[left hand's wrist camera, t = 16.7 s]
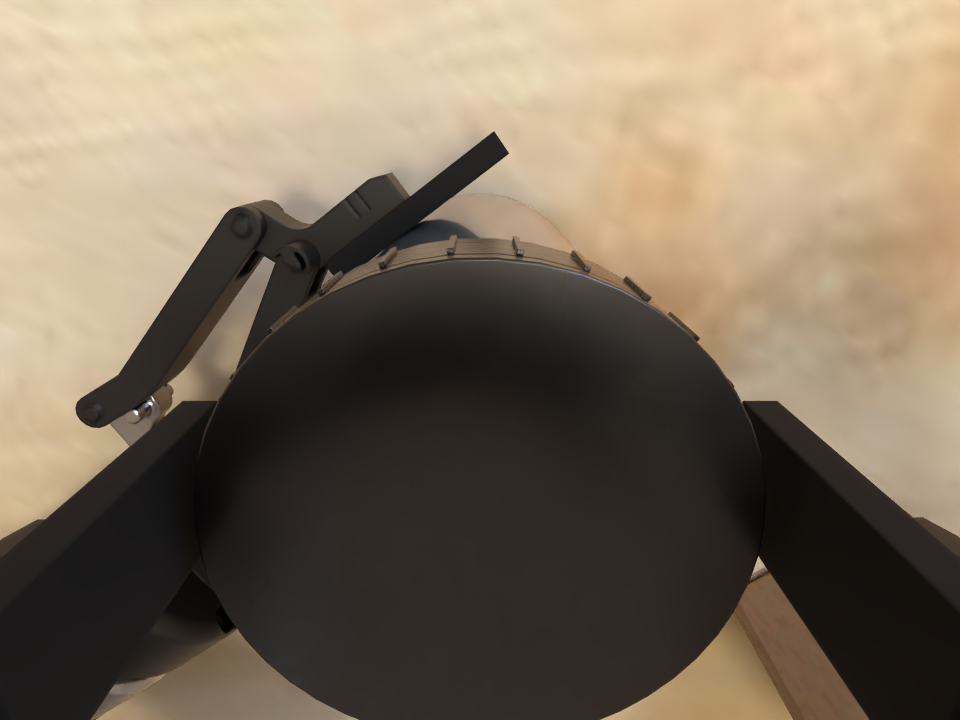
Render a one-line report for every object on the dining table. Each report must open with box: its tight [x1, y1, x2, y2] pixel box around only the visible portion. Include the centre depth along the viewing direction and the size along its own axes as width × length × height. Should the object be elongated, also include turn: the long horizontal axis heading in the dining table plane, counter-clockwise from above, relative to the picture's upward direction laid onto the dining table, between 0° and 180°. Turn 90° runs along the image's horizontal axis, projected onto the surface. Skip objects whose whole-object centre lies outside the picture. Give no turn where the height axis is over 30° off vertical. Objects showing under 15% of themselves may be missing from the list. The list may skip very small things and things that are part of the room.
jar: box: [374, 194, 586, 260], centre depth 19 cm, size 9×9×17 cm
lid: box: [193, 235, 766, 720], centre depth 11 cm, size 10×10×2 cm
